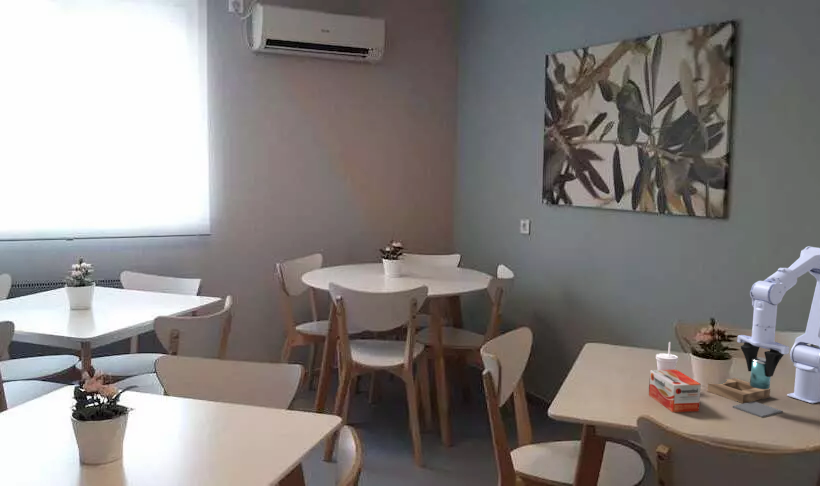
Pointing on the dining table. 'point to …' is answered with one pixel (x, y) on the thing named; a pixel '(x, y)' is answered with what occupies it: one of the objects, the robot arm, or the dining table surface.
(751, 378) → the teal can
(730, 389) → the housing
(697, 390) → the medicine box
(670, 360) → the smoothie
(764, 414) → the mat
